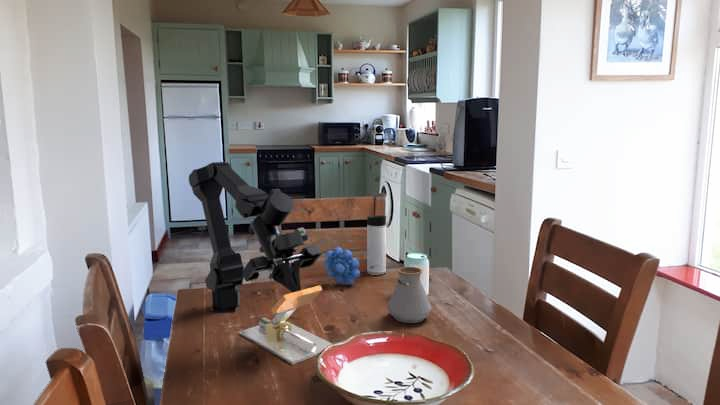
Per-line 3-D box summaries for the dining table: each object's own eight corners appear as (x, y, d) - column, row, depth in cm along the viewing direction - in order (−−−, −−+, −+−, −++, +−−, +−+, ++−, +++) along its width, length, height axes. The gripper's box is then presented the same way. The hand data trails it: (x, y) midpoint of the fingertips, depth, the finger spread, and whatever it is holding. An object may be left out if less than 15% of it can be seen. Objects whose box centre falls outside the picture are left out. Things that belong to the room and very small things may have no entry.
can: (418, 289, 160) (419, 251, 158) (433, 296, 154) (434, 256, 152) (399, 293, 157) (400, 254, 155) (413, 300, 151) (414, 259, 149)
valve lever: (257, 324, 123) (283, 294, 114) (292, 313, 130) (319, 284, 120) (260, 330, 123) (286, 300, 113) (295, 319, 129) (322, 290, 120)
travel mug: (373, 277, 172) (373, 217, 169) (363, 272, 178) (363, 213, 175) (389, 274, 175) (390, 215, 172) (379, 269, 181) (380, 212, 178)
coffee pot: (392, 307, 145) (392, 254, 143) (434, 311, 142) (435, 257, 140) (373, 339, 125) (373, 278, 122) (421, 344, 122) (423, 282, 119)
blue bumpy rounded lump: (320, 287, 162) (319, 249, 160) (326, 280, 169) (325, 244, 167) (357, 290, 160) (357, 251, 158) (361, 283, 166) (361, 246, 164)
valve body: (239, 333, 128) (239, 320, 128) (280, 320, 136) (280, 308, 136) (292, 364, 112) (292, 350, 112) (335, 347, 120) (335, 334, 120)
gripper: (247, 223, 113) (277, 285, 107) (316, 212, 125) (347, 267, 119) (230, 251, 120) (257, 311, 114) (297, 238, 132) (325, 291, 126)
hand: (299, 294), depth 118 cm, fingers closed, pressing on valve lever
